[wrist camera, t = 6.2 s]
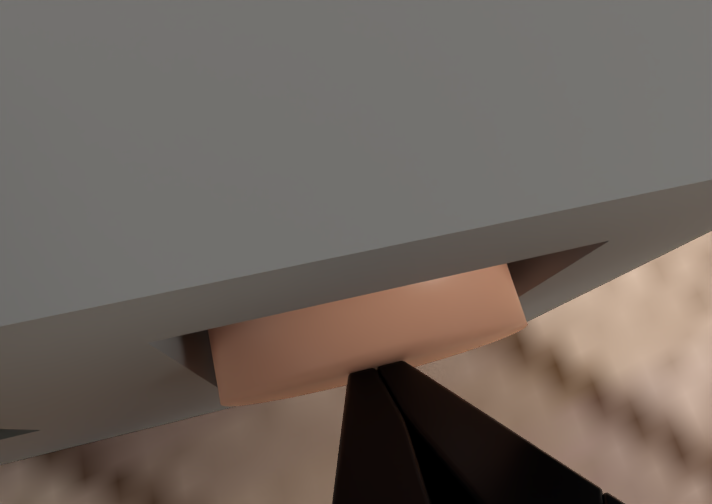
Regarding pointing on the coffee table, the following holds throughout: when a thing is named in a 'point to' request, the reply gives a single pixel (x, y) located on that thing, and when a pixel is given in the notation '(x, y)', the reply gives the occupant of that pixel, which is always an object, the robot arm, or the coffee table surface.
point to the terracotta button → (362, 335)
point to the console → (316, 174)
